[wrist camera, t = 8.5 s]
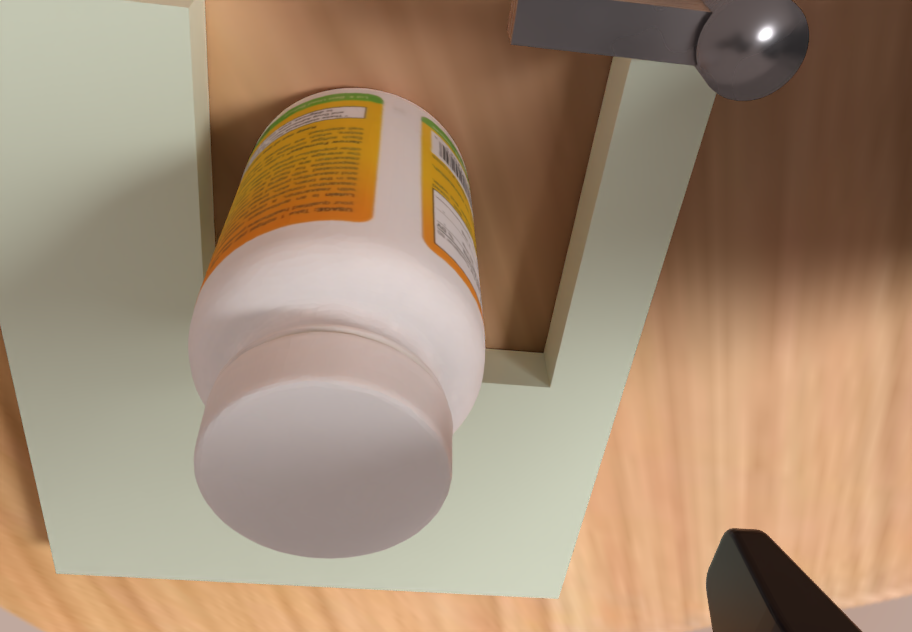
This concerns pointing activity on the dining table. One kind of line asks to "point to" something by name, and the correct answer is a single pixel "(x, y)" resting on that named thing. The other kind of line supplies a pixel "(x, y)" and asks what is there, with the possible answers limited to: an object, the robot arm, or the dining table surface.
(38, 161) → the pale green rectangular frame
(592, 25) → the door lever handle
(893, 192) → the dining table surface
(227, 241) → the supplement bottle
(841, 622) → the robot arm
